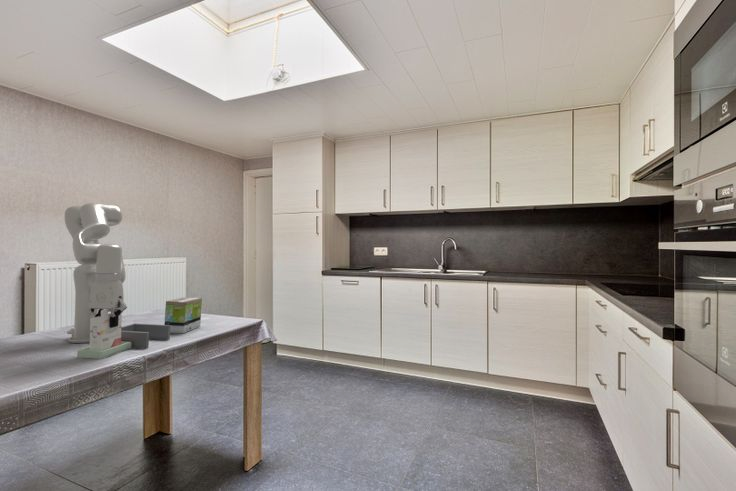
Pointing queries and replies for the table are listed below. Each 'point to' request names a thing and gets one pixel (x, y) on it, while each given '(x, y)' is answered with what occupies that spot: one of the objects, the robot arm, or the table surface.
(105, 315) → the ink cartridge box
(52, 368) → the table surface
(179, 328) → the tea box
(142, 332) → the bay
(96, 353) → the tray
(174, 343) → the table surface
